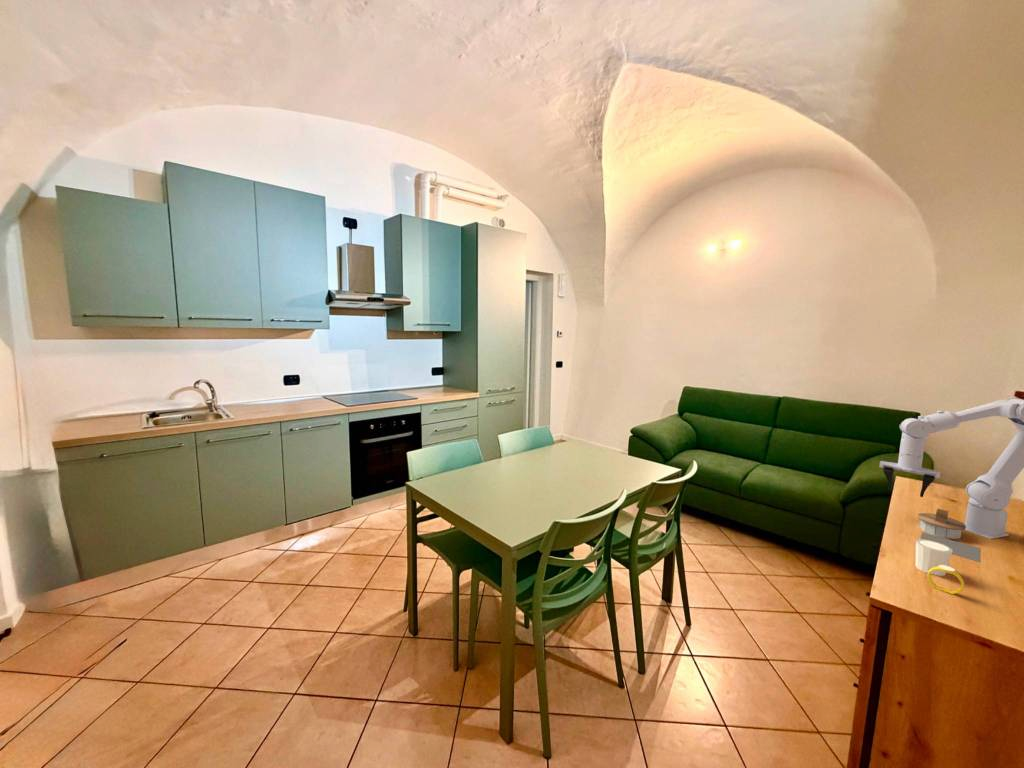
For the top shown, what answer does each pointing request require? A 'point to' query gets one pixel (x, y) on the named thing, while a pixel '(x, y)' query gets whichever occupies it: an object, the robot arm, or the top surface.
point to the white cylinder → (932, 555)
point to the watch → (947, 570)
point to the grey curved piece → (940, 531)
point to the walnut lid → (941, 520)
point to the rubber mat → (956, 547)
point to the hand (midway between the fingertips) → (905, 492)
